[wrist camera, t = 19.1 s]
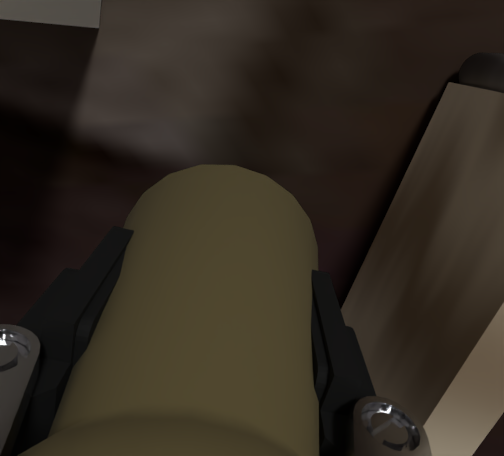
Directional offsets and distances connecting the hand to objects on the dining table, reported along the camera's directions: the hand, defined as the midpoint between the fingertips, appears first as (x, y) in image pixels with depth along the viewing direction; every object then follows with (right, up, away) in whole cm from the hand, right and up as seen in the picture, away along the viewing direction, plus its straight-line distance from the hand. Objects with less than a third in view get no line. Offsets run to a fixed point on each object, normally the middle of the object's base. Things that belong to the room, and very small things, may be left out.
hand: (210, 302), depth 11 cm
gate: (+7, +2, +4) cm, 8 cm away
